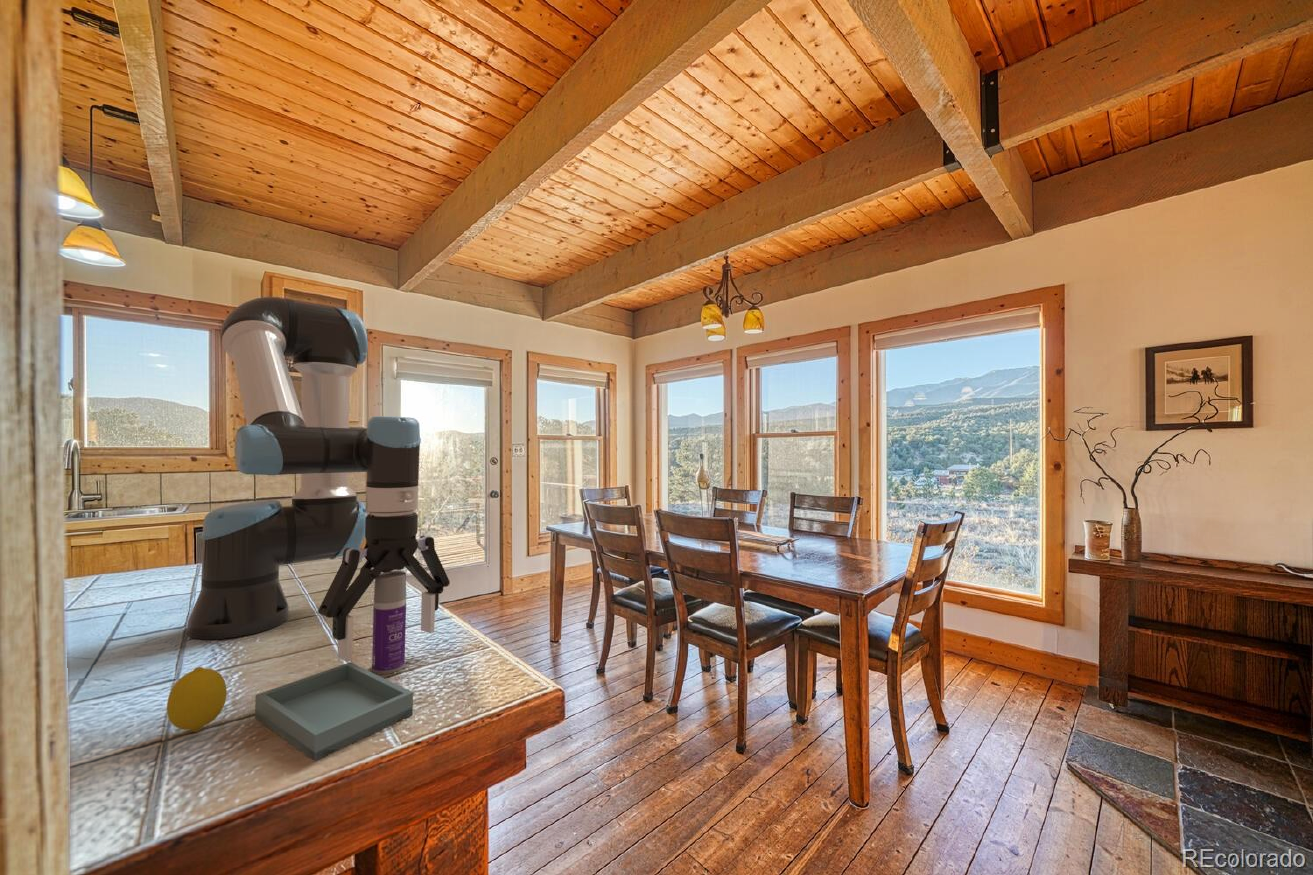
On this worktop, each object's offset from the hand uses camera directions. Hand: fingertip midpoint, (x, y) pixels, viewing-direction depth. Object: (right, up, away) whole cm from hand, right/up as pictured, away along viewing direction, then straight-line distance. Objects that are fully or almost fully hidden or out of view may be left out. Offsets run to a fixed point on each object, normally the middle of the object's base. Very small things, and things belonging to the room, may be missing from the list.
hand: (389, 644), depth 82 cm
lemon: (-14, -4, -19) cm, 24 cm away
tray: (0, -4, -14) cm, 15 cm away
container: (0, -4, 0) cm, 4 cm away
